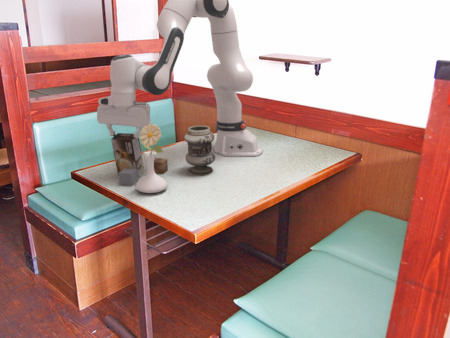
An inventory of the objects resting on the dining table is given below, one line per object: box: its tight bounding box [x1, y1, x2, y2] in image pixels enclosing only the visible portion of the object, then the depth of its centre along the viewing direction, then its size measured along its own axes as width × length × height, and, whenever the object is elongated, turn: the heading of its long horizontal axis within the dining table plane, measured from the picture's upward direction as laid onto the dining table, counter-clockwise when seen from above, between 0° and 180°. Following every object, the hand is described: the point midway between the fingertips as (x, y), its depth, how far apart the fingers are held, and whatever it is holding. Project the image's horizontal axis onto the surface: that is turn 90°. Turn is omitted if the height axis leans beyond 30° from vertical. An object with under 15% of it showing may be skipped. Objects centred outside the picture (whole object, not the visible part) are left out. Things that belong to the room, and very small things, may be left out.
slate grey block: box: [118, 168, 139, 187], centre depth 156 cm, size 5×5×5 cm
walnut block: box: [154, 157, 169, 175], centre depth 167 cm, size 5×5×5 cm
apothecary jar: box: [183, 125, 216, 176], centre depth 165 cm, size 12×12×18 cm
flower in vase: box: [135, 123, 169, 194], centre depth 146 cm, size 13×11×25 cm
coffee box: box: [110, 132, 146, 178], centre depth 162 cm, size 9×6×16 cm
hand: (124, 136), depth 158 cm, fingers closed on coffee box, 8 cm apart
